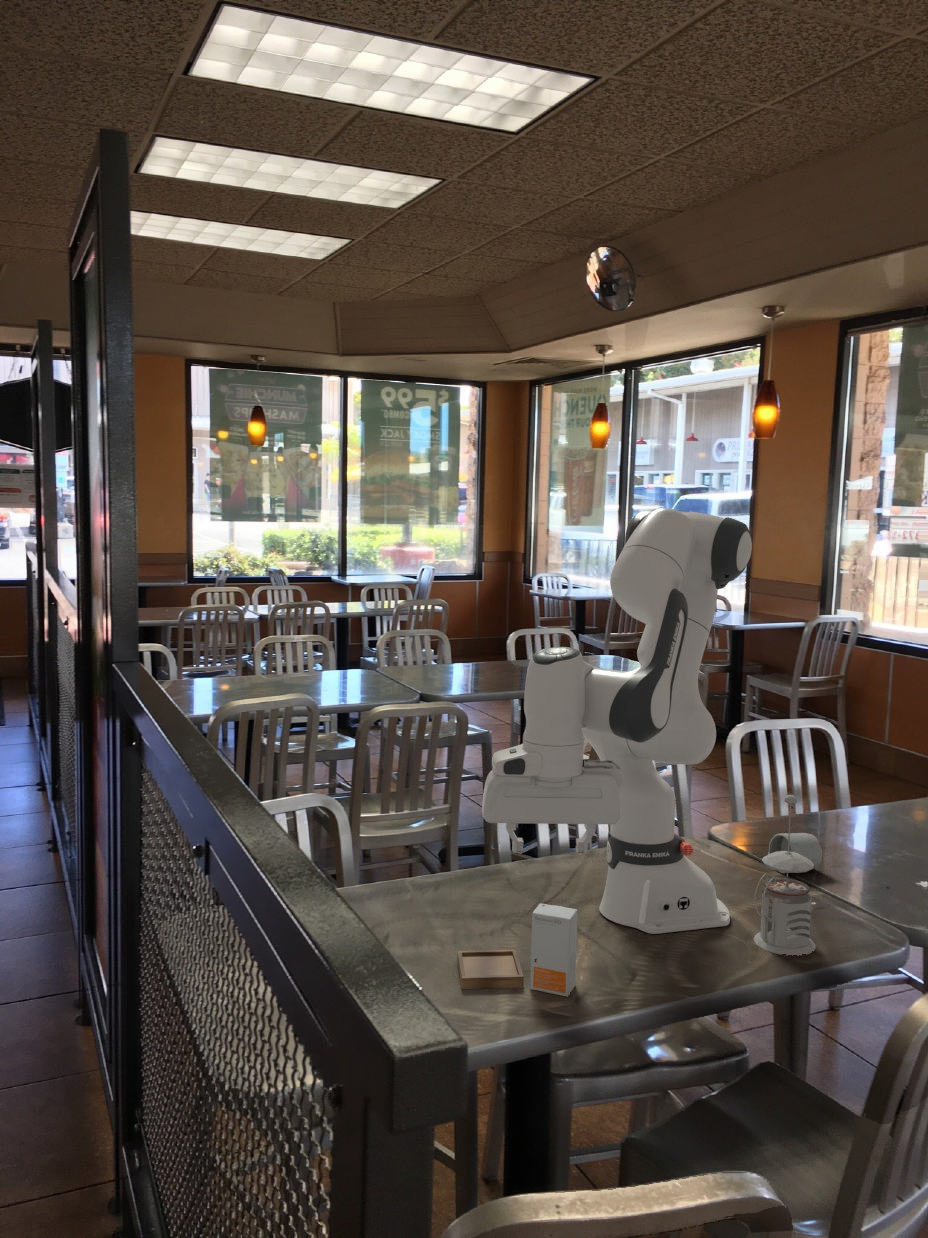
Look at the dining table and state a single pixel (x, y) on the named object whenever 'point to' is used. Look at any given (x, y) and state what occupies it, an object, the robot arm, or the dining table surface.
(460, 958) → the walnut tray
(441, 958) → the dining table surface
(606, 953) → the dining table surface
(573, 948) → the skincare box
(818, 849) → the ceramic mug
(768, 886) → the french press
